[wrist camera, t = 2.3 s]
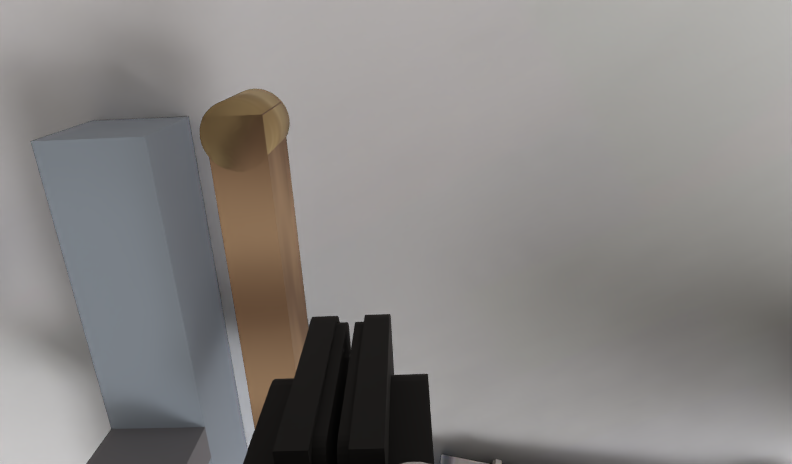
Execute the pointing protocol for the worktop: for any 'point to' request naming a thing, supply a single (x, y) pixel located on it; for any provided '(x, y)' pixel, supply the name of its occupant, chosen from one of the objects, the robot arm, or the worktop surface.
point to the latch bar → (258, 234)
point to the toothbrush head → (462, 460)
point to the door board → (145, 288)
